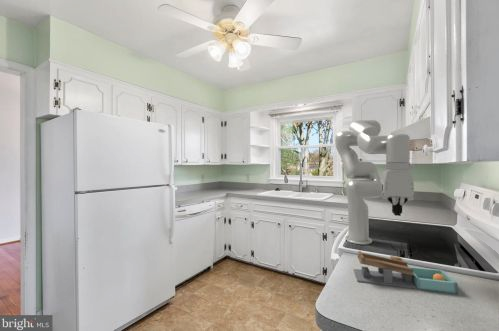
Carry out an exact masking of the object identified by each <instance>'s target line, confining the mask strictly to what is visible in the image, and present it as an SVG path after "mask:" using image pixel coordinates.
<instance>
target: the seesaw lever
mask: <svg viewBox="0 0 499 331" xmlns="http://www.w3.org/2000/svg"><path fill="white" fill-rule="evenodd" d="M357 258H358V261H359V263H360V265H361V264H362V265H365V266H368V267H369V266H370V267H374V268H377V269H378V268H382V269H392V272H394V273H399V274H401V273H404V274H408V275H413V276H414V273H413V269H410V268H409V267H410V266H409V265H408V262H406V261H404V259H403V258H402V257H399V256H397V255H390V256H389V258H388V257H383V256H378V255H373V254H369V253H365V252H362V251H361V250H358V252H357Z"/></svg>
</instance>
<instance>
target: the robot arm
mask: <svg viewBox="0 0 499 331" xmlns="http://www.w3.org/2000/svg"><path fill="white" fill-rule="evenodd" d="M381 131H382V127H381V123H380V122H378V121H377V120H375V119H373V120H372V119H371V120H370V119H369V120H368V119H367V120H365V119H362V120H355V121H353V122H351V123H350V124H349V126H348V130H344V131H339V132H337V134H336V136H335V138H334V144H335V148H336V150H337V153H338V155H339V157H340V159H341V163H342V166H343V171H344V174H345V177H346V178H347V179H349V181H347V183H345V193H346V197H347V214H348V217H347V219H348V220H347V221H348V222H347V224H348V226H347V227H348V230H347V231H348V235H346V236H345V241H346V240H347V241H346V242H348V243H350V244H355V245H364V246H365V245H371V244H372V243H373V239H372V238H370V237H369V235H370V234H369V228H370V226H369V207H368V203H367V202H366V201H365V200H364V199H377V198H381V199H382V200H386V201H388V202H390V204H391V213H392V214H393V215H394V216H397V217H398V216H399V217H401V216H402V215H401V214H403V206H404V205H405V204H406V203H407V202H410V201H415V198H414V195H415V184H414V176H413V173H412V170H411V169H412V168H415V164H414V163H411V162H410V161H411V160H410V159H411V156H410V155H411V154H410V153H411V151H410V148H411V146H410V144H411V142H410V141H411V138H410V136H409V135H408V134H404V133H397V134H396V133H395V134H390V135H379V134H380V133H381ZM352 147H358V149H359V150H361V151H362V152H363V153H365V154H368V155H385V170H383V171H382V175H381V177H380V174H379V171H378V168H377V165H375V164H374V163H373V162H371V161H360V159H359V156H358V153H356V151H355V150H354V149H353V148H352ZM396 198H397V199H398V200H397V199H396Z"/></svg>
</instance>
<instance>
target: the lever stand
mask: <svg viewBox="0 0 499 331" xmlns="http://www.w3.org/2000/svg"><path fill="white" fill-rule="evenodd" d="M353 272H354V275H355V278H356V281H357V283H365V284H373V285H382V286H383V285H384V286H389V287H397V288H405V289H407V288H409V289H416V290H418V289H417V287H416V285H415V284H414V283H413V282H412V275H408V274H404V273H399V272H393V271H392V269H382V268H378V267H377V271H375V270H370V269H369V266H361V269H360V268H359V269H357V268H353Z"/></svg>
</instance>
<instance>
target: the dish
mask: <svg viewBox="0 0 499 331" xmlns="http://www.w3.org/2000/svg"><path fill="white" fill-rule="evenodd" d="M408 267H409V268H410V269H413V273H414V276H413V275H412V282H413V283H414V284H415V285H416V287H417V289H416V290H421V291H429V292H438V293H447V294H454V295H456V294H457V295H458V294H459V293H458V291H459V290H458V288H459V286H458V285H459V284H458V282H456V281H455V280H454V279H453V278H452V277H451V276H450V275H449V274H447V273H446V272H445V271H444V270H443V269H438V268H437V269H435V268H427V267H426V268H424V267H416V266H408ZM437 273H438V274H441V275H443V276H444V277H445V280H446V281H441V280H433V275H434V274H437Z"/></svg>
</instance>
